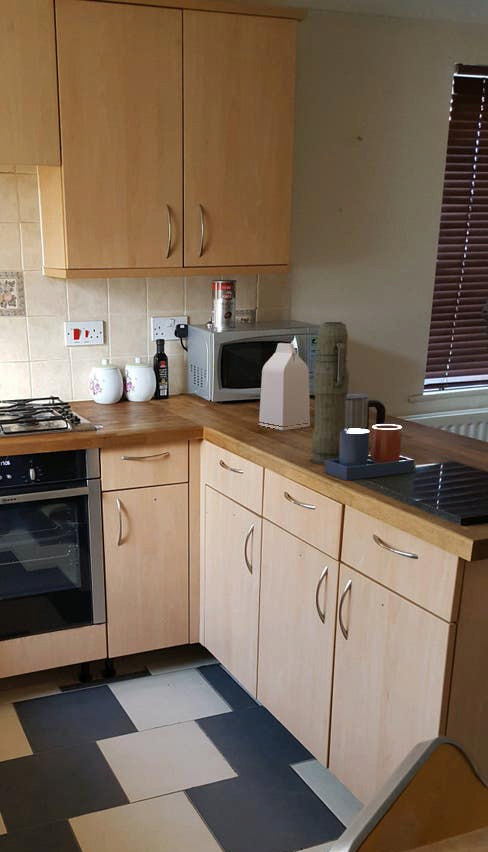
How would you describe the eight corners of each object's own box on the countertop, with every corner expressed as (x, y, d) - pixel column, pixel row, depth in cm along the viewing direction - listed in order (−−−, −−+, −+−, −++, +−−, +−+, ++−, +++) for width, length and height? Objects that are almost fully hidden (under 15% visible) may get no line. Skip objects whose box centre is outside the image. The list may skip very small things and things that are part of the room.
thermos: (331, 455, 237) (335, 320, 225) (355, 463, 226) (361, 322, 215) (302, 458, 234) (305, 322, 222) (325, 466, 223) (329, 324, 212)
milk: (258, 425, 286) (259, 343, 278) (285, 422, 292) (287, 341, 284) (282, 430, 277) (284, 345, 268) (310, 426, 282) (312, 343, 274)
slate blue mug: (373, 473, 212) (375, 431, 208) (348, 476, 209) (350, 434, 206) (357, 467, 218) (358, 427, 215) (332, 470, 215) (334, 430, 212)
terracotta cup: (405, 468, 215) (407, 427, 211) (381, 471, 212) (383, 430, 209) (388, 463, 221) (390, 423, 218) (364, 466, 218) (366, 426, 215)
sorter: (413, 472, 214) (414, 459, 213) (346, 480, 208) (346, 467, 207) (389, 464, 223) (390, 452, 222) (324, 472, 216) (324, 460, 215)
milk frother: (345, 453, 238) (347, 398, 234) (315, 444, 252) (316, 392, 247) (389, 448, 243) (392, 394, 238) (357, 440, 257) (359, 388, 252)
